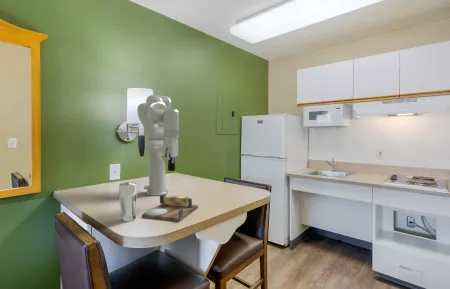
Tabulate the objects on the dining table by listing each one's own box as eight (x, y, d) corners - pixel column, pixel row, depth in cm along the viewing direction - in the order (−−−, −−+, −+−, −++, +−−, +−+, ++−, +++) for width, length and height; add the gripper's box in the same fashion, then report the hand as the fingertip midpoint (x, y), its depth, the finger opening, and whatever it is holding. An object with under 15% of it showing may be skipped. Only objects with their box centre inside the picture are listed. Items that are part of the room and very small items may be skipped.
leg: (188, 204, 117) (188, 196, 117) (186, 205, 114) (185, 197, 114) (162, 201, 121) (162, 194, 120) (159, 203, 118) (159, 195, 118)
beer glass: (122, 216, 106) (121, 182, 105) (139, 216, 106) (138, 181, 105) (116, 222, 99) (116, 185, 98) (134, 222, 99) (134, 185, 98)
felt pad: (141, 214, 105) (141, 214, 105) (153, 208, 113) (153, 207, 113) (160, 216, 102) (160, 216, 102) (171, 210, 111) (171, 209, 111)
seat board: (141, 217, 105) (141, 205, 104) (164, 204, 123) (164, 194, 123) (180, 221, 100) (180, 208, 99) (198, 207, 118) (197, 197, 118)
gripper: (169, 134, 130) (169, 168, 131) (157, 134, 115) (158, 173, 116) (183, 134, 129) (183, 168, 130) (173, 134, 114) (173, 173, 115)
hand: (171, 170), depth 123 cm, fingers closed
